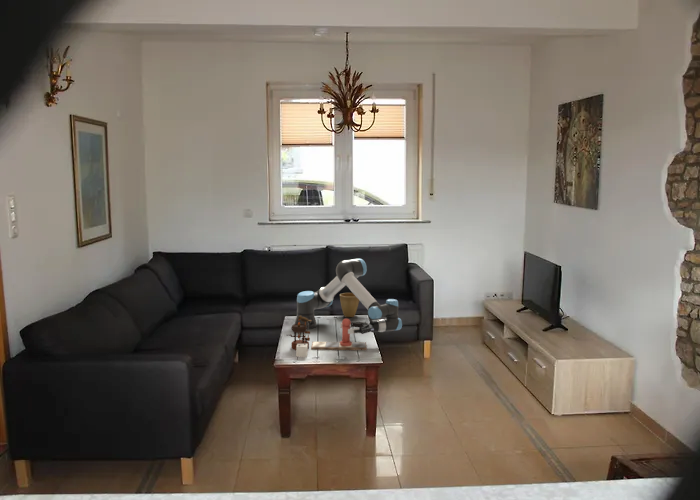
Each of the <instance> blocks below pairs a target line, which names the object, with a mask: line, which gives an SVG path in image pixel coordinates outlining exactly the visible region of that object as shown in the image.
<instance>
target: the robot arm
mask: <svg viewBox="0 0 700 500" xmlns="http://www.w3.org/2000/svg"><path fill="white" fill-rule="evenodd" d="M336 265H337V266H336V268H335V273H336V276H335V277H334V278H333V279H332V280H331V281H330V282H329V283H328V284H326V286H322V287H320V289H318V290H317V291H312V290H305V291H301V292H299V293H297V295H296V296H297V297H296V317H295V320H294V322H293V325H294V324H298V323H299V322H300V324H305V322H303V321H301V320H299V318H298V317H299V316H302V317H305V318H307V319H309V320H312V321H311V322H310V321H308V322H306V326H307V330H309V329H314V328H317V320H316V317H315V310H319V309H323V308H324V309H325V308H328V307H330V306H331V305H332V304H333V302H334V301H333V300H334V297H335V296H336V295H337V294H338V293H339V292H340V291H341V290H342V289H343V288H344V287H347V288H348V289H349V290H350V291H351V293H353V294H354V295H355V296H356V297H357V298H358V299H359V302H360V303H361V304H362V306H364V308H366V309H367V315H368V317H369V318H370V319H371V320H370V321H369V323H368V322H367V321H351V320H350V322H351V324H350V329H348V334H350V335H353V334H361V335H362V334H363V335H365V334H367V333H378V332H379V333H383V332H392V331H393V332H395V331H400V330H401V329H402V328H403V327H402V326H403V321H402V319H401V318H400V317H399V301H398V300H397V299H394V298H388V299H386V300H385V303H384V304H380V303H379V302H378V301H377V300H376V298H374V297H373V296H372V295H371V292H370V291H368V290H367V289H366V287H364V285H363V284H362V283H361V282H360V280H359V279H358V278H359V277H363V276H365V275H366V274H367V270H368V269H367V268H368V267H367V263H366V262H365V260H364V259H362V258H353V259H344V260H341V261H340V262H339V263H338V264H336ZM342 326H343V325H342V322H341V323H340V328H341V329H342Z"/></svg>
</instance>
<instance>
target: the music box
mask: <svg viewBox="0 0 700 500" xmlns="http://www.w3.org/2000/svg"><path fill="white" fill-rule="evenodd" d="M298 318H299V320H301V321H303V322H305V324H300V322H299V323H298V324H294V323H293V324H292V326H291V327H290V328H291V332H293V333H294V335H292V334H291V333H290V334H286V336H290V338H293V339H294V340H293V341H291V344H290V345H291V350H293V351H296V346H297V344H308V349H309V348H310V342H309V341H310V340H311V338H310V337H309V334H311V331H310V330H308V329H307V326H306V322H308V321H310V322H311V321H312V320H309V319H307V318H305V317H302V316H299V317H298ZM301 333H302V335H301ZM297 334H298V335H297ZM306 334H308V335H307V337H306Z"/></svg>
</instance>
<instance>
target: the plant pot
mask: <svg viewBox="0 0 700 500" xmlns="http://www.w3.org/2000/svg"><path fill="white" fill-rule="evenodd" d="M339 299H340V300H339V301H340V306H341V310H342V313H343V316H344V317H345V318H354V317H355V316H356V313H357V310H358V307H359V303H360V300H359V299H358V298H357V297H356V296H355V295H354V294H353V292H343V293H340V294H339Z"/></svg>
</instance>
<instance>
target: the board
mask: <svg viewBox="0 0 700 500" xmlns="http://www.w3.org/2000/svg"><path fill="white" fill-rule="evenodd" d="M311 342H312V343H311V346H310V349H311V350H312V351H314V350H316V351H317V350H318V351H319V350H321V351H323V350H324V351H330V350H331V351H367V349H368V348H367V347H368V346H367V341H366V342H365V341H364V342H363V341H362V342H361V341H351V342H352V345H351V346H341V345H340V341H311Z"/></svg>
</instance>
